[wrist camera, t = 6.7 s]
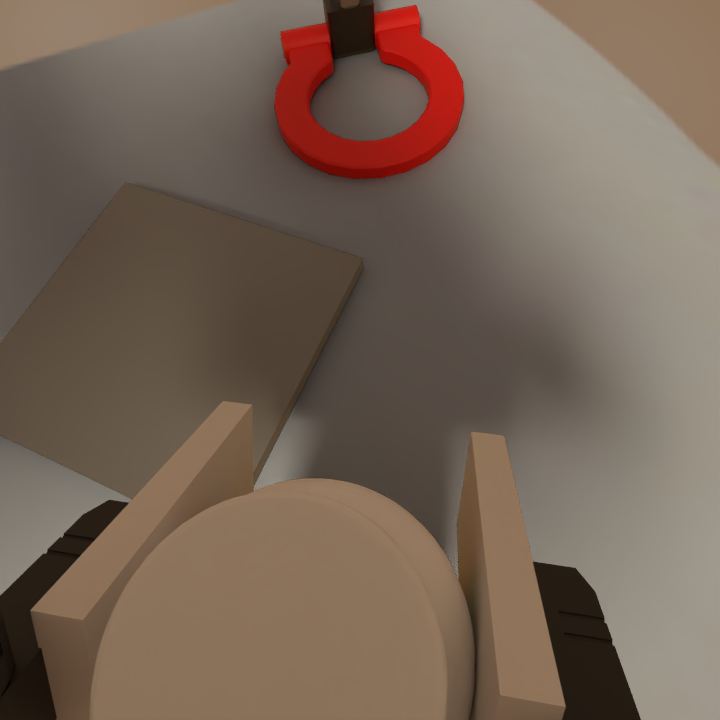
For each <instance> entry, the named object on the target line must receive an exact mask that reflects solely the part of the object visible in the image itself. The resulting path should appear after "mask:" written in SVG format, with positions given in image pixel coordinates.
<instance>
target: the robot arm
mask: <svg viewBox="0 0 720 720" xmlns="http://www.w3.org/2000/svg"><path fill="white" fill-rule="evenodd" d="M253 491H254V483H253V423H252V404H244V403H236V402H227V401H223V402H222V403H221V404H220V405H219V406H218V407H217V408H216V409H215V410H214V411H213V412H212V413H211V415H210V416H209V417H208V418H207V419H206V420H205V421H204V422H203V423H202V424H201V425H200V427H199V428H198V429H197V430H196V431H195V432H194V433H193V434H192V435H191V436H190V437H189V438H188V440H187V441H186V442H185V443H184V444H183V445H182V446H181V447H180V448H179V449H178V450H177V451H176V453H175V454H174V455H173V456H172V457H171V458H170V459H169V460H168V461H167V462H166V463H165V465H164V466H163V467H162V468H161V469H160V470H159V471H158V472H157V473H156V474H155V475H154V476H153V478H152V479H151V480H150V481H149V482H148V483H147V484H146V485H145V486H144V487H143V488H142V490H141V491H140V492H139V493H138V494H137V495H136V496H135V497H134V498H133V499H132V500H131V501H130V503H126V502H120V501H113V500H108V501H106V502H105V503H103V504H101V505H99V506H98V507H96V508H94V509H92V510H91V511H89V512H87V513H85V514H83V515H82V516H81V517H80V518H79V519H78V520H77V521H76V522H75V523H74V524H73V525H72V526H71V527H70V528H69V529H68V530H67V531H66V532H65V533H64V536H63V538H61V537H60V538H59V539H58V540H57V541H56V542H55V543H54V544H53V545H52V546H51V547H50V548H49V549H48V551H47V553H46V554H43V555H42V556H40V557H39V558H38V559H37V560H36V561H35V562H34V563H33V564H32V565H31V566H30V567H29V568H28V569H27V570H26V571H25V572H24V573H23V574H22V575H21V576H20V577H19V578H18V579H17V580H16V581H15V582H14V583H13V584H12V585H11V586H10V587H9V588H8V589H7V590H6V591H5V592H4V593H3V594H2V595H1V596H0V720H90V698H91V687H92V680H93V674H94V668H95V663H96V657H97V654H98V650H99V647H100V643H101V640H102V637H103V634H104V631H105V628H106V626H107V623H108V621H109V619H110V616H111V614H112V611H113V609H114V607H115V605H116V604H117V602H118V600H119V598H120V596H121V594H122V592H123V590H124V588H125V586H126V585H127V584H128V582H129V581H130V579H131V578H132V576H133V575H134V573H135V572H136V571H137V569H138V568H139V567H140V565H141V564H142V563H143V561H144V560H145V559H146V558H147V556H148V555H149V554H150V553H151V552H152V551H153V550H154V549H155V548H156V547H157V546H158V545H159V544H160V543H161V542H162V541H163V540H164V539H165V538H167V537H168V536H169V535H170V534H171V533H172V532H173V531H174V530H176V529H177V528H178V527H179V526H180V525H182V524H183V523H185V522H186V521H188V520H189V519H191V518H192V517H194V516H196V515H197V514H199V513H201V512H202V511H204V510H206V509H207V508H210V507H212V506H214V505H216V504H219V503H221V502H223V501H225V500H229V499H232V498H235V497H239V496H243V495H247V494H249V493H251V492H253ZM457 547H458V572H459V582H460V585H461V587H462V590H463V593H464V595H465V598H466V602H467V606H468V609H469V613H470V617H471V622H472V627H473V634H474V642H475V653H476V669H475V686H474V695H473V701H472V708H471V712H470V716H469V720H641V719H640V716H639V713H638V710H637V708H636V705H635V702H634V699H633V696H632V694H631V691H630V688H629V685H628V682H627V680H626V677H625V674H624V671H623V668H622V666H621V663H620V660H619V657H618V654H617V652H616V649H615V646H613V645H612V638H611V635H610V632H609V629H608V626H607V624H606V623H605V622H604V615H603V612H602V610H601V607H600V604H599V601H598V598H597V596H596V593H595V591H594V590H593V589H592V587H591V586H590V585H589V584H588V583H587V581H586V580H585V579H584V578H583V577H582V575H581V574H580V573H579V572H578V571H577V569H576V568H572V567H565V566H558V565H552V564H545V563H538V562H533V561H532V556H531V552H530V548H529V543H528V539H527V534H526V530H525V526H524V521H523V517H522V512H521V508H520V504H519V499H518V495H517V490H516V486H515V482H514V477H513V473H512V468H511V464H510V460H509V455H508V451H507V446H506V442H505V438H504V436H503V435H495V434H487V433H479V432H471V437H470V444H469V450H468V456H467V463H466V469H465V475H464V482H463V488H462V494H461V501H460V507H459V513H458V520H457Z"/></svg>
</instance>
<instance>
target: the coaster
mask: <svg viewBox="0 0 720 720" xmlns="http://www.w3.org/2000/svg"><path fill="white" fill-rule="evenodd" d="M363 268H364V265H363V258H360V257H357V256H354V255H351V254H348V253H344V252H341V251H338V250H335V249H332V248H329V247H326V246H323V245H320V244H316V243H313V242H310V241H307V240H304V239H301V238H298V237H295V236H291V235H288V234H285V233H282V232H279V231H276V230H273V229H270V228H267V227H263V226H260V225H257V224H254V223H251V222H248V221H245V220H242V219H238V218H235V217H232V216H229V215H226V214H223V213H220V212H217V211H214V210H210V209H207V208H204V207H201V206H198V205H195V204H192V203H189V202H186V201H182V200H179V199H176V198H173V197H170V196H167V195H164V194H161V193H157V192H154V191H151V190H148V189H145V188H142V187H139V186H136V185H133V184H129V183H126V182H125V183H124V185H123V186H122V187H121V188H120V190H119V191H118V192H117V194H116V195H115V196H114V197H113V199H112V200H111V201H110V203H109V204H108V205H107V207H106V208H105V209H104V210H103V212H102V213H101V214H100V216H99V217H98V218H97V220H96V221H95V222H94V223H93V225H92V226H91V227H90V229H89V230H88V231H87V232H86V234H85V235H84V236H83V238H82V239H81V240H80V242H79V243H78V244H77V245H76V247H75V248H74V249H73V251H72V252H71V253H70V255H69V256H68V257H67V258H66V260H65V261H64V262H63V264H62V265H61V266H60V268H59V269H58V270H57V271H56V273H55V274H54V275H53V277H52V278H51V279H50V280H49V282H48V283H47V284H46V286H45V287H44V288H43V290H42V291H41V292H40V293H39V295H38V296H37V297H36V299H35V300H34V301H33V303H32V304H31V305H30V306H29V308H28V309H27V310H26V312H25V313H24V314H23V315H22V317H21V318H20V319H19V321H18V322H17V323H16V325H15V326H14V327H13V328H12V330H11V331H10V332H9V334H8V335H7V336H6V338H5V339H4V340H3V341H2V343H1V344H0V435H1V436H3V437H5V438H7V439H9V440H11V441H13V442H16V443H18V444H20V445H22V446H24V447H26V448H28V449H30V450H32V451H34V452H36V453H38V454H40V455H42V456H44V457H47V458H49V459H51V460H53V461H55V462H57V463H59V464H61V465H63V466H65V467H67V468H69V469H71V470H73V471H75V472H77V473H80V474H82V475H84V476H86V477H88V478H90V479H92V480H94V481H96V482H98V483H100V484H102V485H104V486H106V487H108V488H111V489H113V490H115V491H117V492H119V493H121V494H123V495H125V496H127V497H129V498H131V499H133V498H134V497H135V496H136V495H137V494H138V493H139V492H140V491H141V490H142V488H143V487H144V486H145V485H146V484H147V483H148V482H149V481H150V480H151V479H152V478H153V476H154V475H155V474H156V473H157V472H158V471H159V470H160V469H161V468H162V467H163V466H164V465H165V463H166V462H167V461H168V460H169V459H170V458H171V457H172V456H173V455H174V454H175V453H176V451H177V450H178V449H179V448H180V447H181V446H182V445H183V444H184V443H185V442H186V441H187V440H188V438H189V437H190V436H191V435H192V434H193V433H194V432H195V431H196V430H197V429H198V428H199V427H200V425H201V424H202V423H203V422H204V421H205V420H206V419H207V418H208V417H209V416H210V415H211V413H212V412H213V411H214V410H215V409H216V408H217V407H218V406H219V405H220V404H221V403H222V402H223V401H227V402H236V403H244V404H252V423H253V483H254V484H255V482H256V480H257V478H258V476H259V474H260V472H261V470H262V468H263V466H264V464H265V462H266V460H267V458H268V456H269V454H270V452H271V450H272V448H273V446H274V444H275V442H276V440H277V439H278V437H279V435H280V433H281V431H282V429H283V427H284V425H285V423H286V421H287V419H288V417H289V415H290V413H291V411H292V409H293V407H294V405H295V403H296V401H297V399H298V397H299V395H300V393H301V391H302V389H303V387H304V385H305V383H306V381H307V379H308V377H309V375H310V373H311V371H312V369H313V367H314V365H315V363H316V361H317V359H318V357H319V355H320V353H321V351H322V349H323V347H324V345H325V343H326V341H327V339H328V337H329V335H330V333H331V331H332V329H333V327H334V325H335V324H336V322H337V320H338V318H339V316H340V314H341V312H342V310H343V308H344V306H345V304H346V302H347V300H348V298H349V296H350V294H351V292H352V290H353V288H354V286H355V284H356V282H357V280H358V278H359V276H360V274H361V272H362V270H363Z"/></svg>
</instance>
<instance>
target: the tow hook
mask: <svg viewBox="0 0 720 720" xmlns="http://www.w3.org/2000/svg"><path fill="white" fill-rule="evenodd" d="M323 5H324V13H325V21H326V23H322V24H317V25H312V26H307V27H302V28H297V29H291V30H286V31H281V34H280V35H281V38H280V39H281V44H282V49H283V53H284V58H285V59H286V63H287V64H290V65H289V66H288V67H287V69H286V70H285V71H284V73H283V75H282V77H281V79H280V82H279V84H278V86H277V88H276V96H275V105H274V107H275V111H276V115H277V119H278V123H279V127H280V131H281V135H282V137H283V138H284V140H285V141H286V143H287V144H288V146H289V147H290V149H291V150H292V152H294V153H295V154H296V155H297V156H298V157H300V158H301V159H302V160H303V161H305V162H306V163H307V164H308V165H310V166H312V167H315V168H317V169H319V170H321V171H324V172H326V173H328V174H331V175H337V176H342V177H348V178H354V179H360V178H382V177H386V176H390V175H395V174H399V173H403V172H406V171H409V170H411V169H413V168H415V167H417V166H419V165H421V164H423V163H425V162H427V161H429V160H430V159H431V158H432V157H433V156H435V155H436V154H437V153H438V152H439V151H441V150H442V149H443V148H444V147H445V146H446V145H447V143H448V142H449V140H450V139H451V137H452V136H453V135H454V133H455V132H456V130H457V128H458V124H459V121H460V117H461V114H462V110H463V103H464V92H463V81H462V78H461V76H460V74H459V72H458V69H457V67H456V65H455V63H454V62H453V61H452V60H451V59H450V58H449V57H448V56H447V55H446V53H445V52H444V51H443V50H442V49H440V48H439V47H437V46H436V45H434V44H432V43H431V42H429V41H428V40H426V39H425V38H422V37H421V34H420V17H419V12H418V8H417V6H416V5H413V6H408V7H403V8H398V9H392V10H387V11H382V12H377V13H374V2H373V0H323ZM375 47H377V50H378V53H379V56H380V60H381V61H383V62H384V63H387V64H392V65H395V66H398V67H400V68H403V69H405V70H407V71H408V72H410V73H411V74H413V75H414V76H416V77H417V78H418V80H419V81H420V82H421V83H422V84H423V85H424V87H425V90H426V92H427V95H428V99H429V101H428V104H427V108H426V110H425V111H424V113H423V114H422V116H421V117H420V118H419V120H418V121H417V122H416V123H414V124H413V125H412V126H411V127H409V128H408V129H407V130H405V131H403V132H401V133H399V134H397V135H395V136H393V137H389V138H385V139H381V140H377V141H355V140H349V139H343V138H341V137H338V136H336V135H334V134H331V133H329V132H328V131H326V130H325V129H324V128H322V127H321V126H320V125H319V124H318V123H317V122H316V120H315V119H314V118H313V116H312V115H311V113H310V101H311V99H312V97H313V94H314V92H315V90H316V89H317V87H318V86H319V85H320V84H321V83H322V81H323V80H324V79H326V78H327V77H328V76H330V75H331V74H332V73H333V70H334V67H333V59H332V57H333V58H338V57H343V56H348V55H353V54H358V53H363V52H368V51H373V50H374V49H375Z"/></svg>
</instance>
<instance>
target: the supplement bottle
mask: <svg viewBox="0 0 720 720" xmlns="http://www.w3.org/2000/svg"><path fill="white" fill-rule="evenodd" d="M475 669H476V653H475V642H474V634H473V627H472V622H471V617H470V613H469V609H468V606H467V602H466V598H465V595H464V593H463V590H462V587H461V585H460V582H459V580H458V578H457V575H456V573H455V571H454V569H453V567H452V565H451V563H450V561H449V560H448V558H447V556H446V555H445V553H444V552H443V550H442V549H441V547H440V546H439V544H438V543H437V541H436V540H435V539H434V537H433V536H432V535H431V534H430V533H429V532H428V530H427V529H426V528H425V527H424V526H423V525H422V524H421V523H420V522H419V521H418V520H417V519H416V518H415V517H414V516H413V515H411V514H410V513H409V512H408V511H407V510H405V509H404V508H403V507H401V506H400V505H398V504H397V503H395V502H394V501H393V500H391V499H389V498H387V497H385V496H383V495H381V494H379V493H377V492H375V491H373V490H371V489H368V488H366V487H363V486H361V485H357V484H353V483H350V482H345V481H340V480H333V479H323V478H308V479H296V480H290V481H285V482H280V483H276V484H273V485H269V486H266V487H264V488H261V489H258V490H255V491H253V492H251V493H249V494H247V495H243V496H239V497H235V498H232V499H229V500H225V501H223V502H221V503H219V504H216V505H214V506H212V507H210V508H207V509H206V510H204V511H202V512H201V513H199V514H197V515H196V516H194V517H192V518H191V519H189V520H188V521H186V522H185V523H183V524H182V525H180V526H179V527H178V528H177V529H176V530H174V531H173V532H172V533H171V534H170V535H169V536H168V537H167V538H165V539H164V540H163V541H162V542H161V543H160V544H159V545H158V546H157V547H156V548H155V549H154V550H153V551H152V552H151V553H150V554H149V555H148V556H147V558H146V559H145V560H144V561H143V563H142V564H141V565H140V567H139V568H138V569H137V571H136V572H135V573H134V575H133V576H132V578H131V579H130V581H129V582H128V584H127V585H126V586H125V588H124V590H123V592H122V594H121V596H120V598H119V600H118V602H117V604H116V605H115V607H114V609H113V611H112V614H111V616H110V619H109V621H108V623H107V626H106V628H105V631H104V634H103V637H102V640H101V643H100V647H99V650H98V654H97V657H96V663H95V668H94V674H93V680H92V687H91V698H90V720H469V716H470V712H471V708H472V701H473V695H474V686H475Z"/></svg>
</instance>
